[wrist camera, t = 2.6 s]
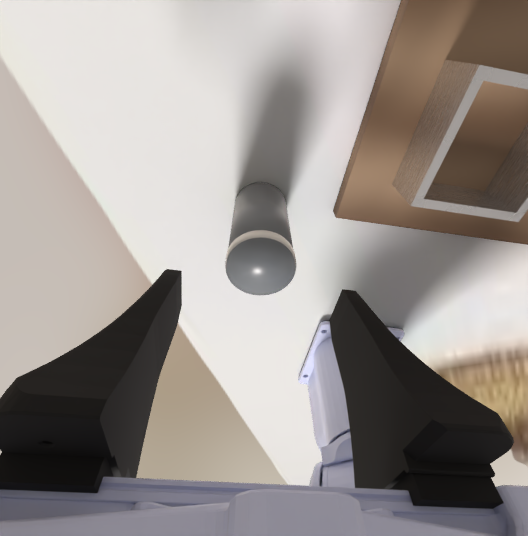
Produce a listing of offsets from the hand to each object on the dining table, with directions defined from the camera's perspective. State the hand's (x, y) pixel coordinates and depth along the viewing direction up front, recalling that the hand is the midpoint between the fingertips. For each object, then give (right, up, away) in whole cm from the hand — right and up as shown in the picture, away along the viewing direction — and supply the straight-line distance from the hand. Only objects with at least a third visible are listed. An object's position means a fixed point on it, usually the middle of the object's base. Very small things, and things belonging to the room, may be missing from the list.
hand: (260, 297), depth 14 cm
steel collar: (+12, +9, +4) cm, 16 cm away
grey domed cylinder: (0, +5, +7) cm, 9 cm away
